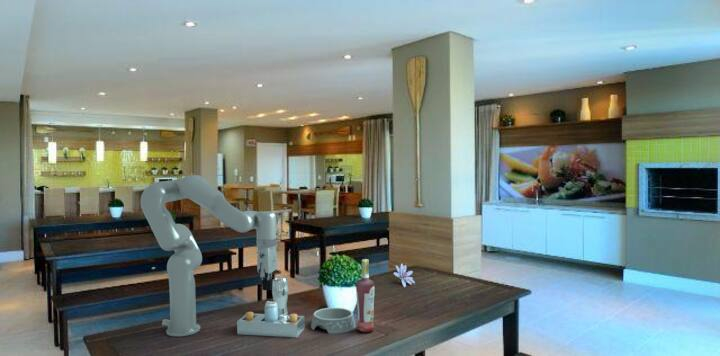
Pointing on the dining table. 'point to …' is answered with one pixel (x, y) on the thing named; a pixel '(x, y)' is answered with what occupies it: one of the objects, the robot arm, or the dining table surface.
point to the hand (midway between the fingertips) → (266, 289)
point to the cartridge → (271, 311)
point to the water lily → (403, 275)
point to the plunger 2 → (293, 318)
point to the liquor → (365, 300)
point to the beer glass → (280, 294)
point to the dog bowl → (333, 320)
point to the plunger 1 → (249, 316)
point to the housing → (270, 326)
